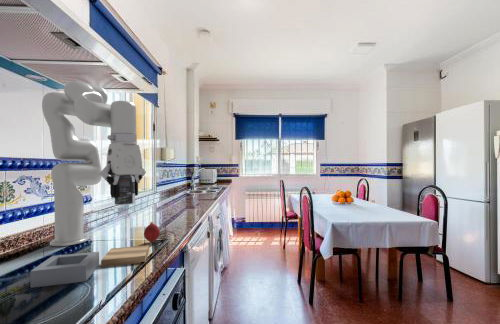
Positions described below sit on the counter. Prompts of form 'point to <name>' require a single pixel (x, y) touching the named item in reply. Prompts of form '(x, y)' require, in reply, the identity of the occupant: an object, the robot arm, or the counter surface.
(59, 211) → the robot arm
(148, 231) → the onion
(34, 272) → the socket collar
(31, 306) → the counter surface
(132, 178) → the pill bottle
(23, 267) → the counter surface
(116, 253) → the pad
